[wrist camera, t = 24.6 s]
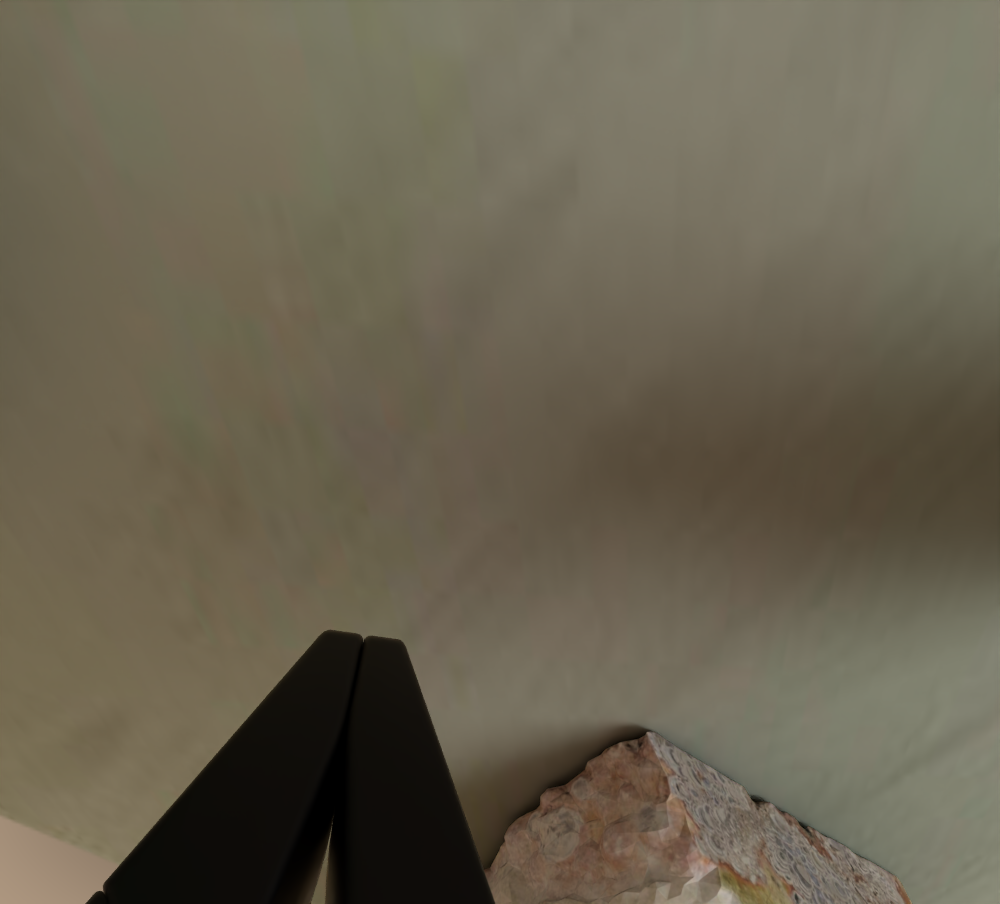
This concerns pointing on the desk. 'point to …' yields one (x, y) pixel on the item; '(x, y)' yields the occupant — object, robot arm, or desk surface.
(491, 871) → the geological specimen
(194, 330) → the desk surface
